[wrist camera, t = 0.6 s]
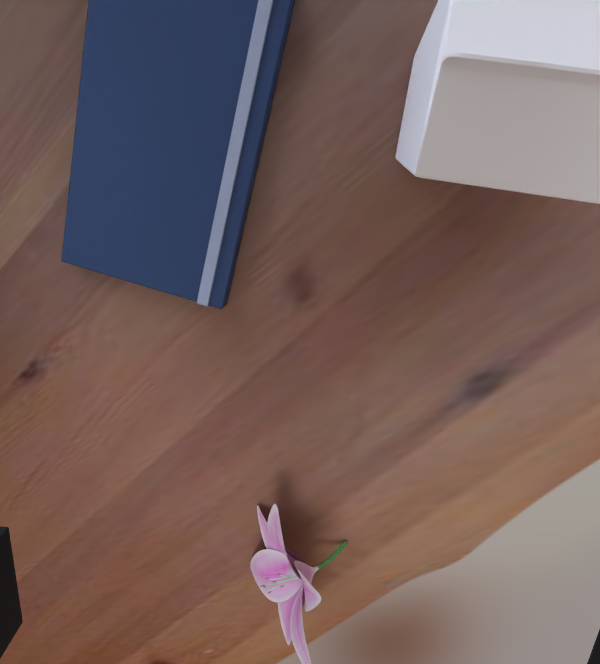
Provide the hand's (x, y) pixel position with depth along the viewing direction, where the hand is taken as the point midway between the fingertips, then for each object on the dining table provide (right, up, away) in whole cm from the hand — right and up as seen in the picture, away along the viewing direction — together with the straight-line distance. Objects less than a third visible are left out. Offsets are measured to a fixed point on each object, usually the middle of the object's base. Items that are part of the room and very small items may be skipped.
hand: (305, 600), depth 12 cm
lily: (0, -11, +33) cm, 35 cm away
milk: (+9, +19, +21) cm, 30 cm away
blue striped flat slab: (-9, +19, +24) cm, 31 cm away
